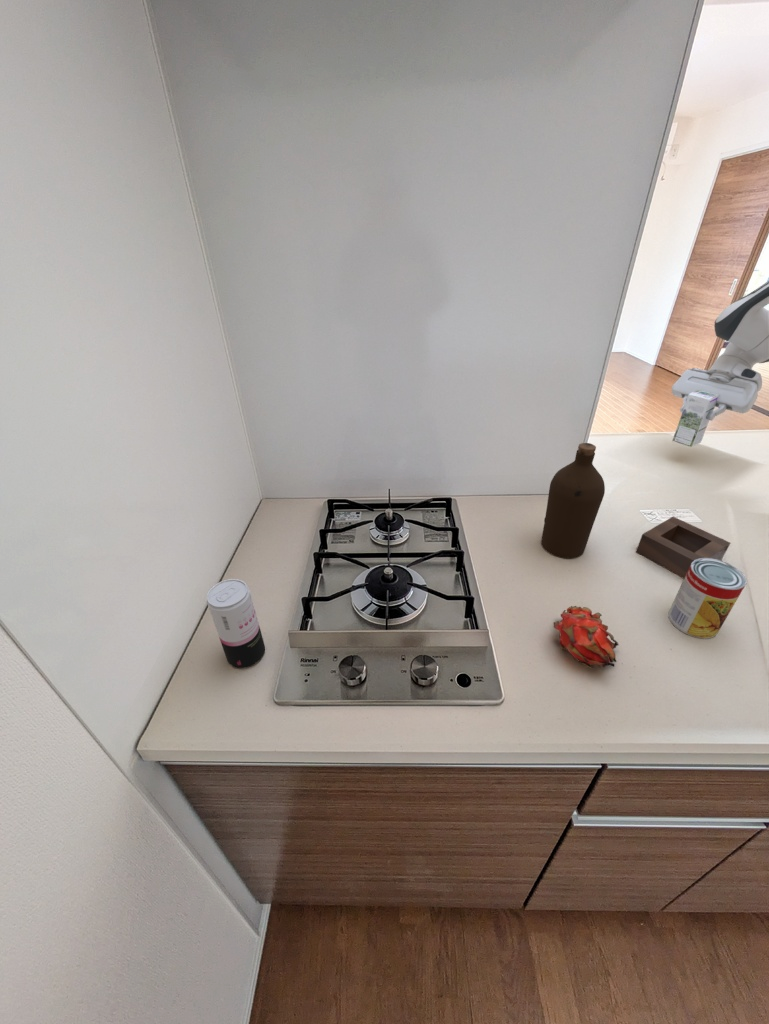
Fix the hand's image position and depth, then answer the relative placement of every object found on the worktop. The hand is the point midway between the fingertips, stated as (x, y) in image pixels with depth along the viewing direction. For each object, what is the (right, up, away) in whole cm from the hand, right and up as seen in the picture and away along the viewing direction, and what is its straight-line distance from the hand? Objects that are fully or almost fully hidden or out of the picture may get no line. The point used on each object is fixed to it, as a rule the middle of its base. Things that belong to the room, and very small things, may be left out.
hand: (695, 415), depth 124 cm
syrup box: (+1, -7, +5) cm, 9 cm away
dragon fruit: (-54, -52, -48) cm, 89 cm away
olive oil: (-48, -35, -24) cm, 64 cm away
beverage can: (-113, -53, -47) cm, 133 cm away
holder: (-24, -37, -28) cm, 53 cm away
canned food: (-32, -48, -43) cm, 72 cm away
